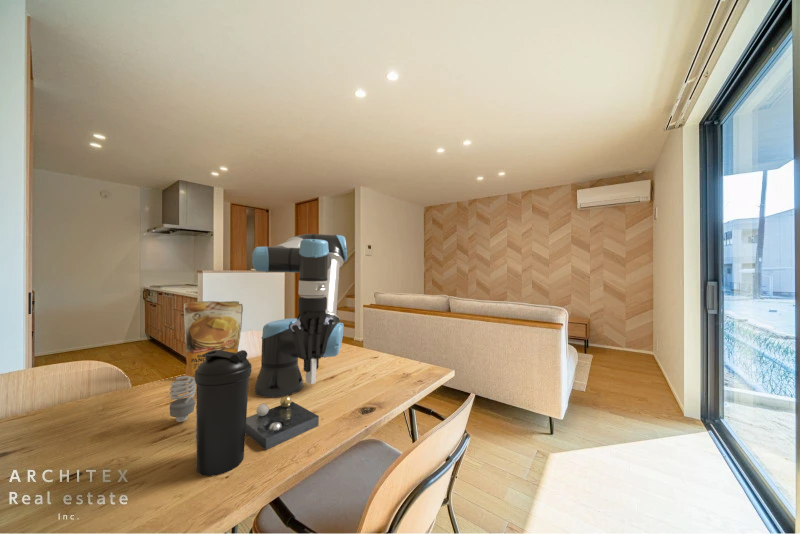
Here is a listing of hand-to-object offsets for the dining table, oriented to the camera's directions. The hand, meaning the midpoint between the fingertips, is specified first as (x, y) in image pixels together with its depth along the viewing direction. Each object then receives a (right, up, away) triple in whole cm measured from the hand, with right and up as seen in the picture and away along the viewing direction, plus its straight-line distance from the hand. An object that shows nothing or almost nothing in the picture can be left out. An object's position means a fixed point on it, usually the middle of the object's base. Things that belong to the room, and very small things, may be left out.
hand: (310, 382), depth 80 cm
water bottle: (-13, -10, -19) cm, 25 cm away
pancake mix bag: (-46, -10, +29) cm, 56 cm away
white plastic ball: (-11, -6, -4) cm, 13 cm away
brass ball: (-7, -6, +1) cm, 10 cm away
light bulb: (-33, -9, -3) cm, 34 cm away
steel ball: (-6, -8, -8) cm, 13 cm away
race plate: (-6, -10, -5) cm, 13 cm away
